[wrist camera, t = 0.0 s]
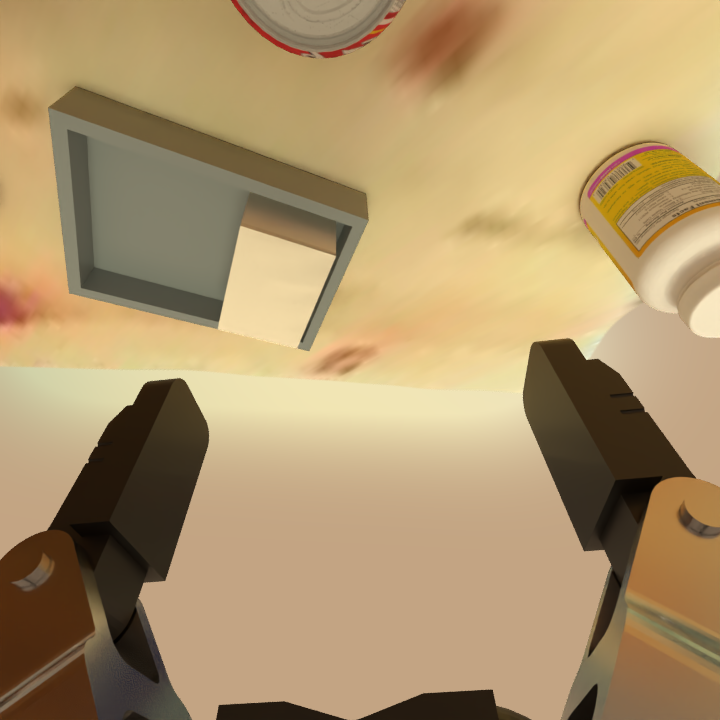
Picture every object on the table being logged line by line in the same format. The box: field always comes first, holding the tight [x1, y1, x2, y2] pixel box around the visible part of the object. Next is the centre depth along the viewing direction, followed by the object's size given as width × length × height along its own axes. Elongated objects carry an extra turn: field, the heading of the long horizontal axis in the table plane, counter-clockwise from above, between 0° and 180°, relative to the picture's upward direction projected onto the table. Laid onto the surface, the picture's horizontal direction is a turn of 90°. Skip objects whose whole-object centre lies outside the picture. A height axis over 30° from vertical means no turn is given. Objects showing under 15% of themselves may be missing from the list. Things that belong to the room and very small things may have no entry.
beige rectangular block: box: [217, 192, 336, 349], centre depth 31 cm, size 9×6×4 cm, turn 158°
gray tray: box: [48, 87, 369, 351], centre depth 31 cm, size 13×18×4 cm
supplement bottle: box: [580, 143, 720, 338], centre depth 26 cm, size 7×7×13 cm
